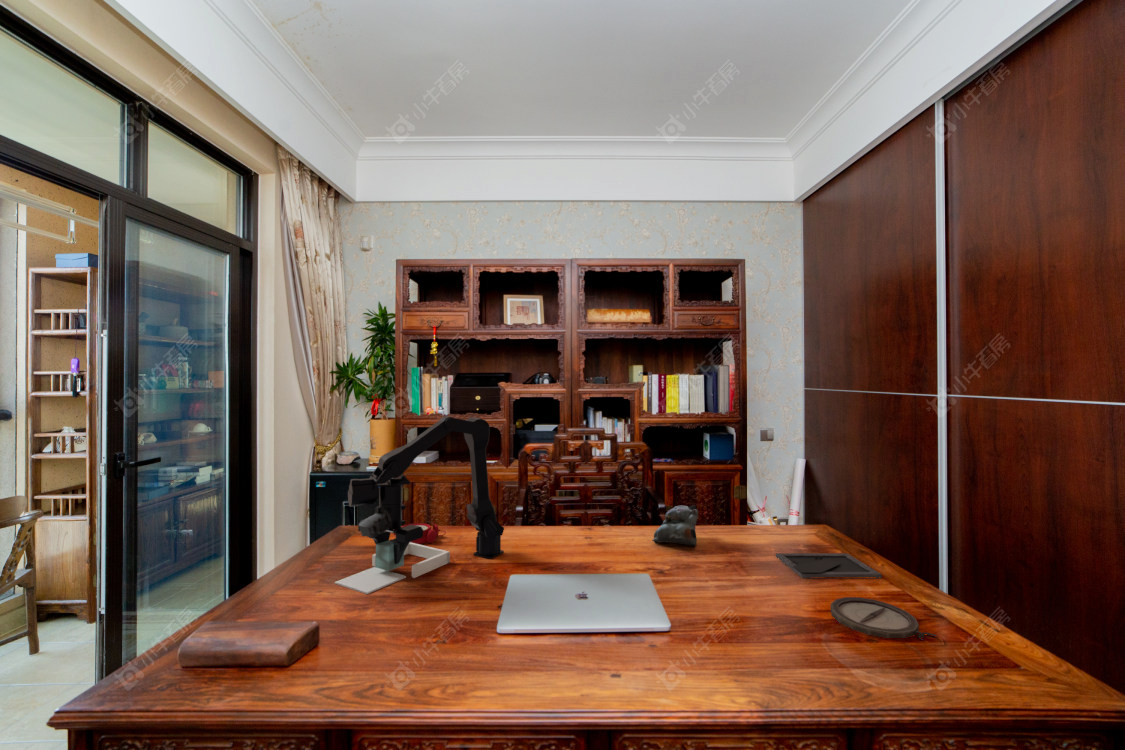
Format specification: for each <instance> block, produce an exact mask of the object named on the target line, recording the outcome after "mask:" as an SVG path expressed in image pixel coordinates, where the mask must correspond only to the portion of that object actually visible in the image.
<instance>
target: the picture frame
mask: <svg viewBox="0 0 1125 750" xmlns="http://www.w3.org/2000/svg"><path fill="white" fill-rule="evenodd" d="M776 557H777V558H776ZM775 558H776V559H778V558H779V559H780V560H781V561H782V564H784V563H785V564H786V565H787V566H788V567H787V566H786V565H785V564H784V565H785V566H786V567H787V568H789V567H790V568H791V569H792V570H793V571H792V570H791V569H790V568H789V569H790V570H791V571H792V572H794V573H795V574H796V573H797V574H798V575H799V576H798V575H797V574H796V575H797V576H798V577H800V578H801V577H802V578H801V579H812V578H811V577H869V578H868V579H871V578H870V577H876V578H875V579H882V573H880V572H879V571H877V570H875V569H874V568H872V567H871V566H869V565H868V564H866V563H864V562H862V561H860V560H859V559H857V558H856V557H854V556H852V555H851V554H849V553H846V552H845V553H837V552H835V553H827V552H825V553H823V552H820V553H816V552H814V553H813V552H810V553H807V552H805V553H804V552H803V553H800V552H799V553H797V552H795V553H794V552H793V553H792V552H791V553H789V552H788V553H787V552H785V553H783V552H782V553H781V552H779V553H777V552H776V553H775ZM779 559H778V560H779ZM780 560H779V561H780ZM781 561H780V562H781ZM879 577H880V578H879Z"/></svg>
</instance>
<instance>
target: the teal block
mask: <svg viewBox="0 0 1125 750" xmlns="http://www.w3.org/2000/svg"><path fill="white" fill-rule="evenodd" d="M390 540H391V539H389V540H388V541H385V542H382V543H379V544H375V554H376V566H375V567H376V568H379V569H383V570H386V571H390V572H392V570H395V569H398V568H400V567H403V566H404V565H405V555H404V554H403V556H402V558H401V560H400V562H399V563H398V564H395V561H394V545H393V544H392V543H391V542H390Z"/></svg>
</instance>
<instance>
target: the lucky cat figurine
mask: <svg viewBox="0 0 1125 750" xmlns="http://www.w3.org/2000/svg"><path fill="white" fill-rule="evenodd" d="M698 516H699V511H698V509H697V506H696V505H695V504H693V505H690V506H687V505H677V506H676V505H675V506H674V507H673V508H671V509H669V510H668V511H667V512H666V513H665V516H664V518H665V519H664V520H663V522H662V524H661V525H660V526H659V527H657V529H656V530H655V532H654V533H653V539H651V541H652V542H654V544H657V543H672V544H681V545H687V546H690V547H694V548H695V547H696V546H697V545H698V544H697V541H698V539H697V533H696V525H697V522H698V521H697V520H698V518H699V517H698Z"/></svg>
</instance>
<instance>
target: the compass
mask: <svg viewBox="0 0 1125 750" xmlns="http://www.w3.org/2000/svg"><path fill="white" fill-rule="evenodd" d="M830 614H832V615H831V617H832V616H833V617H834V618H835V619H836V620H837V621H838V622H839V623H838V622H837V621H836V620H835V619H834V618H833V617H832V618H833V619H834V620H835V621H836V622H837V623H838V624H840V623H841V624H840V625H842V624H843V625H842V626H844V625H845V626H847V627H849V628H851V629H853V630H852V631H854V630H856V631H855V632H857V631H859V632H858V633H860V632H862V633H861V634H863V633H865V634H864V635H866V634H868V635H867V636H869V635H873V636H872V637H874V636H878V637H877V638H880V637H884V638H883V639H885V638H906V637H910V636H913V635H917V638H918V637H919V638H920V639H921V637H922V638H923V639H921V640H924V639H925V638H924V637H925V635H924V634H927V635H933V636H937V637H938V635H936V634H933V633H930V632H926V631H925V632H923V631H920V629H919V628H920V627H919V622H918V621H917V618H916V617H915V616H913V615H912V614H911V613H909V611H908V610H907V611H906V610H905V609H902V608H900V607H898V606H895V605H893V604H891V603H887V602H884V601H880V600H877V599H872V598H864V597H858V596H857V597H856V596H855V597H854V596H851V597H850V596H848V597H844V596H843V597H842V598H836V599H834V600H833V601H832V602H830ZM845 626H844V627H845ZM847 627H846V628H847ZM849 628H848V629H849ZM851 629H850V630H851ZM918 630H919V631H918Z"/></svg>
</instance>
